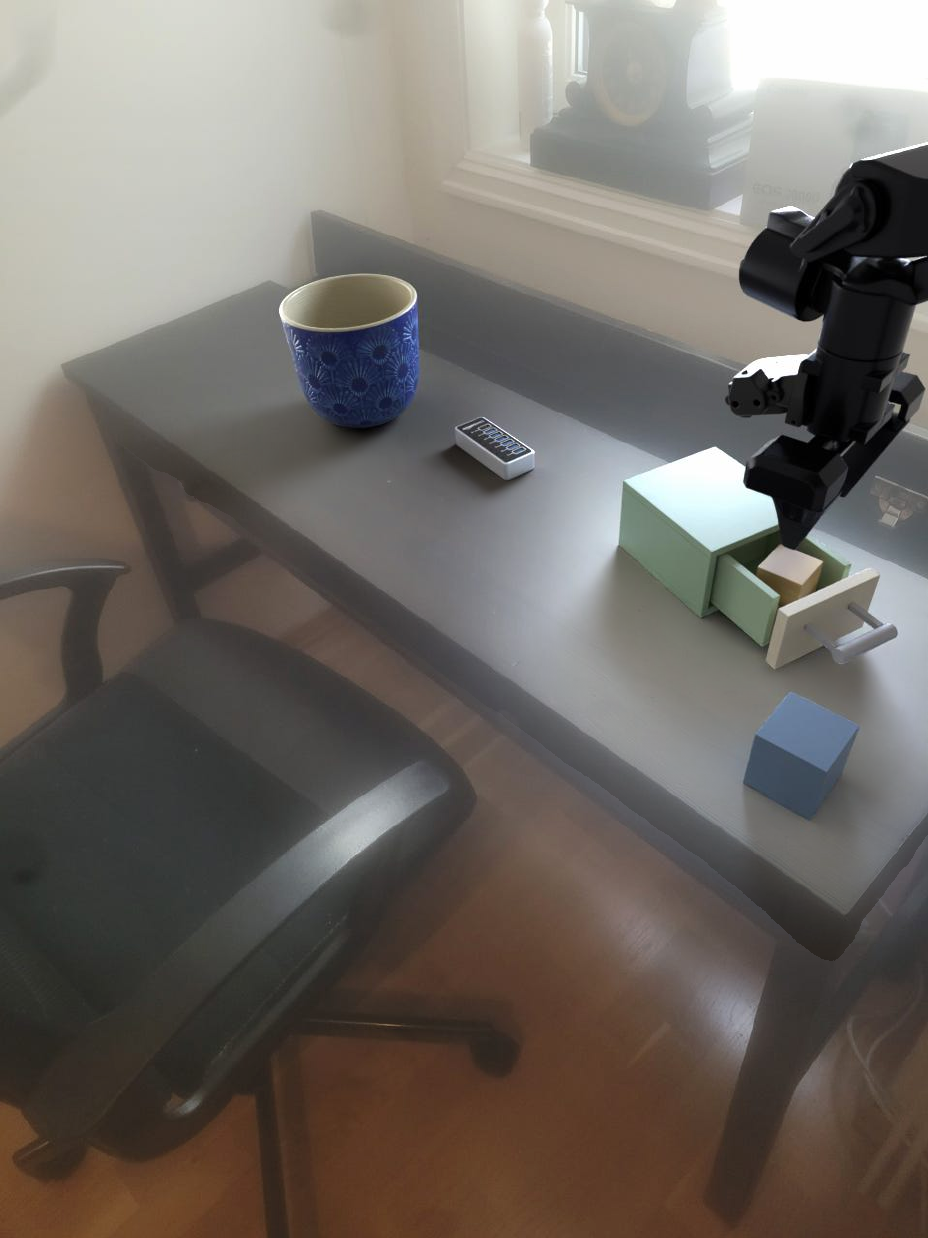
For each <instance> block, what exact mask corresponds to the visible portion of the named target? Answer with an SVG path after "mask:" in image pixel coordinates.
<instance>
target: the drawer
mask: <svg viewBox="0 0 928 1238" xmlns="http://www.w3.org/2000/svg"><path fill="white" fill-rule="evenodd" d="M780 544H781V545H782V540H781V535H780V530H778V531H776V532H773V533H771V534H769V535H766V536H764V537H761V538H759V539H757V540H754V541H752V542H749V543H747V544H745V545H742V546H740V547H738V548H735V549H733V550H730V551H728V552H726V553H723V554H721V555H718V556H717V559H716V565H715V571H714V577H713V582H712V588H711V594H710V600H709V601H710V602H711V603H712V604H713V605H715V606H716V607H717V608H718V609H719V610H718V611H720V612H721V613H723V615H725V616H726V617H727V618H728V619H729V620H730V621H732V622H733V623H734V624H735V625H736V626H737V627H739V628H740V629H741V630H742V631H743V632H744V633H745V634H747V635H748V636H749V637H750V638H751V639H752V640H754V641H755V642H756V643H757V644H758V645H759V646H760V647H764V646H767V645H768V649H767V654H766V657H765V662H766V663H767V664H768V665H769V666H771V667H772V668H773V669H774V670H777V669H778V668H781V667H783V666H784V665H786V664H789V663H791V662H793V661H794V660H795V661H796V660H797V659H799V658H801V657H803V656H806V655H808V654H809V653H811V652H814V651H816V650H818V649H820V648H822V647H825V648H826V649H827V650H829V651H830V652H831V657H832V660H834V661H835V663H837V664H840V665H843V664H845V663H848V662H850V661H851V660H853V659H855V658H857V657H860V656H861V655H864V654H866V653H868V652H870V651H871V650H873V649H876V648H878V647H880V646H882V645H883V644H886V643H888V642H890V641H892V640H894V639H896V638H897V637H898V634H899V632H898V628H897V627H896V626H895V624H894V623H891V622H887V623H883V622H882V621H881V620H879V619H878V618H877V617H875V616H874V615H872V613H869V609H870V607H871V604H872V600H873V597H874V595H875V591H876V590H877V589H876V588H877V587H878V583H879V580H880V577H881V574H880V573H879V572H877V571H876V570H874V569H873V568H872V567H868V568H865V569H863V570H861V571H859V572H856V573H854V574H852V575H850V576H849V574H850V570H851V568H852V563H851V562H850V561H848V560H847V559H846V558H844V557H843V556H842V555H840V554H839V553H837V552H836V551H834V550H833V549H832V548H830V547H829V546H827V545H825V544H824V543H823V542H822V541H820V540H819V539H817V538H816V537H814V536H813V535H811V533H809V534H808V535H807V537H806V538H805V539H804V540H803V542H802V543H801V544H800V545H799V547H798V548H797V549H796V551H799V552H801V553H804V554H806V555H809V556H811V557H814V558H816V559H819V560H821V561H823V565H822V569H821V572H820V576H819V579H818V583H817V586H816V590H815V593H813V594H810V595H808V596H806V597H804V598H802V599H799V600H797V601H795V602H793V603H791V604H788V605H786V606H784V607H782V608H779V609H778V613H777V617H776V620H774V619H775V615H776V611H777V607H778V603H779V599H780V595H779V594H777V593H776V592H775V591H774V590H772V589H771V588H770V587H769V586H767V585H766V584H765V583H764V582H762V581H761V580H760V579H759V578H757V577H756V573H757V568H758V566H759V565H760V564H761V563H762V562H763V561H764V560H765V559H766V558H767V557H768V556H769V555H770V554H771V553H772V552H773V551H774V550H775V549H776V548H777V547H778V546H779V545H780ZM865 623H866V624H867V625H868V626H870V627H871V628H872V630H870V631H867V632H866V633H863V634H861V635H859V636H857V637H855V638H853V639H851V640H849V641H847V642H844V643H843V644H840V645H839V644H838V643H837V642H836V640H838V639H841V638H843V637H845V636H846V635H849V634H851V633H854V632H855V631H857V630H859V629H861V628H863V627H864V624H865Z"/></svg>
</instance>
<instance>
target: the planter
mask: <svg viewBox="0 0 928 1238" xmlns="http://www.w3.org/2000/svg"><path fill="white" fill-rule="evenodd" d="M418 310H419V309H418V293H417V291H416V289H415V288H414V286H412V285H411V284H410V283H409V282H407V281H405V280H403V279H400V278H398V277H395V276H391V275H385V274H384V275H383V274H377V273H351V274H344V275H343V274H342V275H336V276H330V277H327V278H323V279H318V280H315V281H313V282H310V283H308V284H305V285H303V286H300V287H299V288H297V289H295V290H294V291H292V292H290V293H289V294H288V295H287V296H286V297H285V298H284V299H283V300H282V302H281V303H280V305H279V312H278V313H279V316H280V320H281V323H282V324H281V325H282V326H283V331H284V334H285V337H286V341H287V344H288V348H289V351H290V354H291V358H292V361H293V364H294V369H295V371H296V375H297V378H298V382H299V385H300V388H301V391H302V393H303V395H304V397H305V399H306V400H307V402H308V404H309V405H310V407H311V408H312V409H313V411H314V412H315V413H316V414H317V415H318V416H320V417H321V418H323V419H324V420H326V421H327V422H329V423H331V424H333V425H336V426H339V427H344V428H350V429H366V428H371V427H373V428H374V427H377V426H380V425H384V424H386V423H389V422H390V421H392V420H394V419H395V418H398V417H399V416H400V415H402V413H404V411H405V410H406V409H407V408H408V407H409V406H410V405H411V403H412V401H413V400H414V398H415V395H416V393H417V389H418V385H419V379H420V347H419V345H420V344H419V318H418V317H419V314H418V313H419V312H418Z"/></svg>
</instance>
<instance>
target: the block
mask: <svg viewBox="0 0 928 1238" xmlns="http://www.w3.org/2000/svg"><path fill="white" fill-rule="evenodd" d="M822 565H823V561H821V560H819V559H816V558H814V557H811V556H809V555H806V554H804V553H801V552H799V551H796V550H791V549H788V548H786V547H784V546H783V545H781V544H780V545H779V546H778V547H777V548H776V549H775V550H774V551H773V552H772V553H771V554H770V555H769V556H768V557H767V558H766V559H765V560H764V561H763V562H762V563H761V564H760V565H759V566H758V568H757V573H756V577H757V578H759V579H760V580H761V581H762V582H764V583H765V584H766V585H767V586H769V587H770V588H771V589H772V590H774V591H775V592H776V593H777V594H779V595H780V599H779V603H778V607H777V611H776V615H775V619H774V620H776V617H777V613H778V609H779V608H782V607H784V606H786V605H788V604H791V603H793V602H795V601H797V600H799V599H802V598H804V597H806V596H808V595H810V594H813V593H815V590H816V586H817V583H818V579H819V576H820V572H821V569H822Z"/></svg>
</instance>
